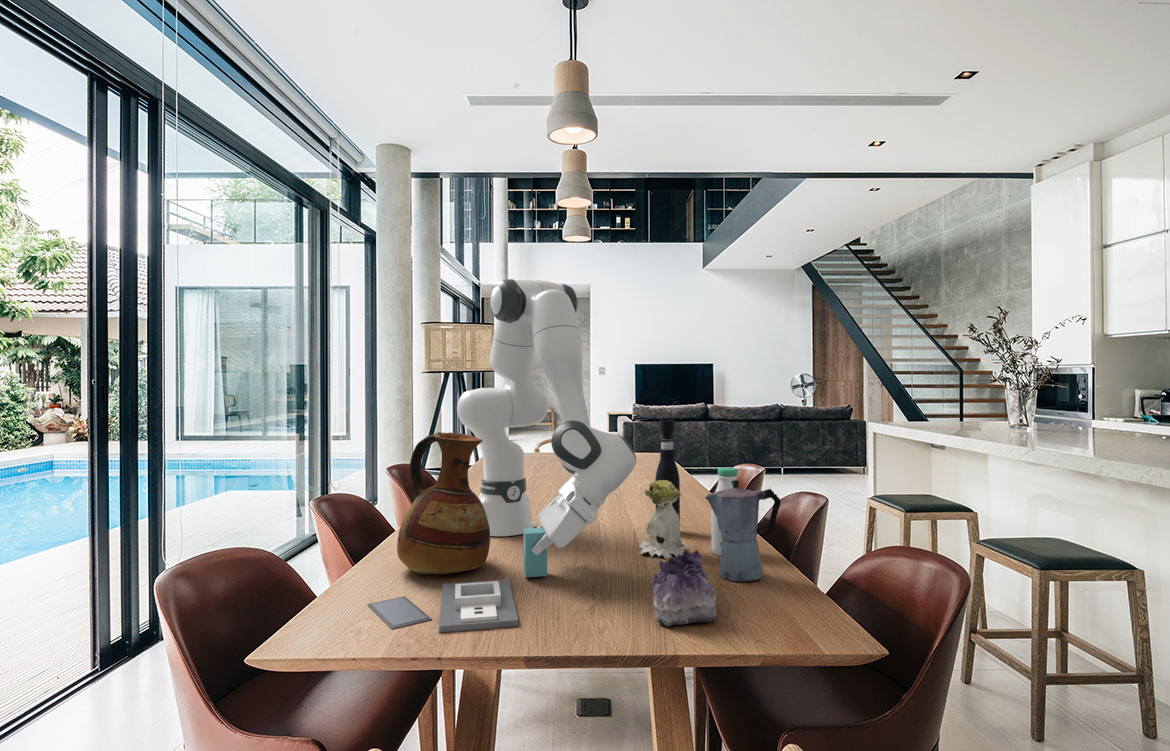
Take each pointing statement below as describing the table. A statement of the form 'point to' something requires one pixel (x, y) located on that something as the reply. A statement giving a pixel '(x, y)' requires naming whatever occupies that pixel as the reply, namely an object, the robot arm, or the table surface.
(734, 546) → the moka pot
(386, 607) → the phone
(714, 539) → the milk bottle
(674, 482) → the wine bottle
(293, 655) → the table surface
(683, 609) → the geode
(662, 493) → the green-topped white figurine
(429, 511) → the ceramic pitcher
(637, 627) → the table surface
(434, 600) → the table surface
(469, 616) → the grey socket base board
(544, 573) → the teal box with slot
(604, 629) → the table surface
